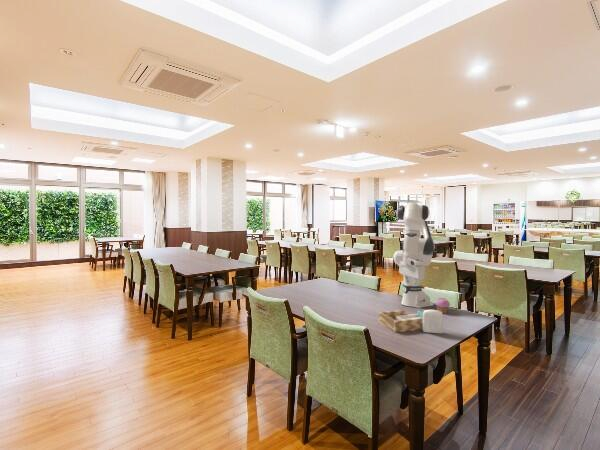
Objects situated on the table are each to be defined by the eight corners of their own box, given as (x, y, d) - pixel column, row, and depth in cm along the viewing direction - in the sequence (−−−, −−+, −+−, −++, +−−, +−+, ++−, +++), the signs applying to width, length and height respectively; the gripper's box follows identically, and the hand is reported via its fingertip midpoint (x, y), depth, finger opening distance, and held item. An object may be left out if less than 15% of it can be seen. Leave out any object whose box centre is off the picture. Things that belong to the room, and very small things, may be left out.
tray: (418, 317, 196) (418, 310, 195) (434, 324, 182) (434, 317, 182) (394, 319, 191) (394, 312, 191) (408, 327, 177) (408, 319, 177)
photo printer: (441, 331, 175) (441, 309, 174) (443, 334, 170) (443, 311, 170) (421, 330, 177) (422, 308, 177) (423, 332, 173) (423, 310, 172)
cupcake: (444, 311, 214) (444, 296, 213) (452, 314, 205) (452, 299, 205) (432, 311, 212) (432, 296, 212) (440, 315, 204) (440, 300, 203)
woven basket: (404, 319, 195) (404, 309, 195) (423, 329, 178) (423, 318, 178) (378, 322, 190) (378, 312, 190) (395, 332, 173) (395, 321, 173)
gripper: (396, 258, 194) (396, 281, 195) (417, 263, 175) (417, 288, 175) (405, 258, 196) (405, 280, 196) (427, 262, 176) (426, 287, 177)
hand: (410, 284), depth 185 cm, fingers open, 6 cm apart
